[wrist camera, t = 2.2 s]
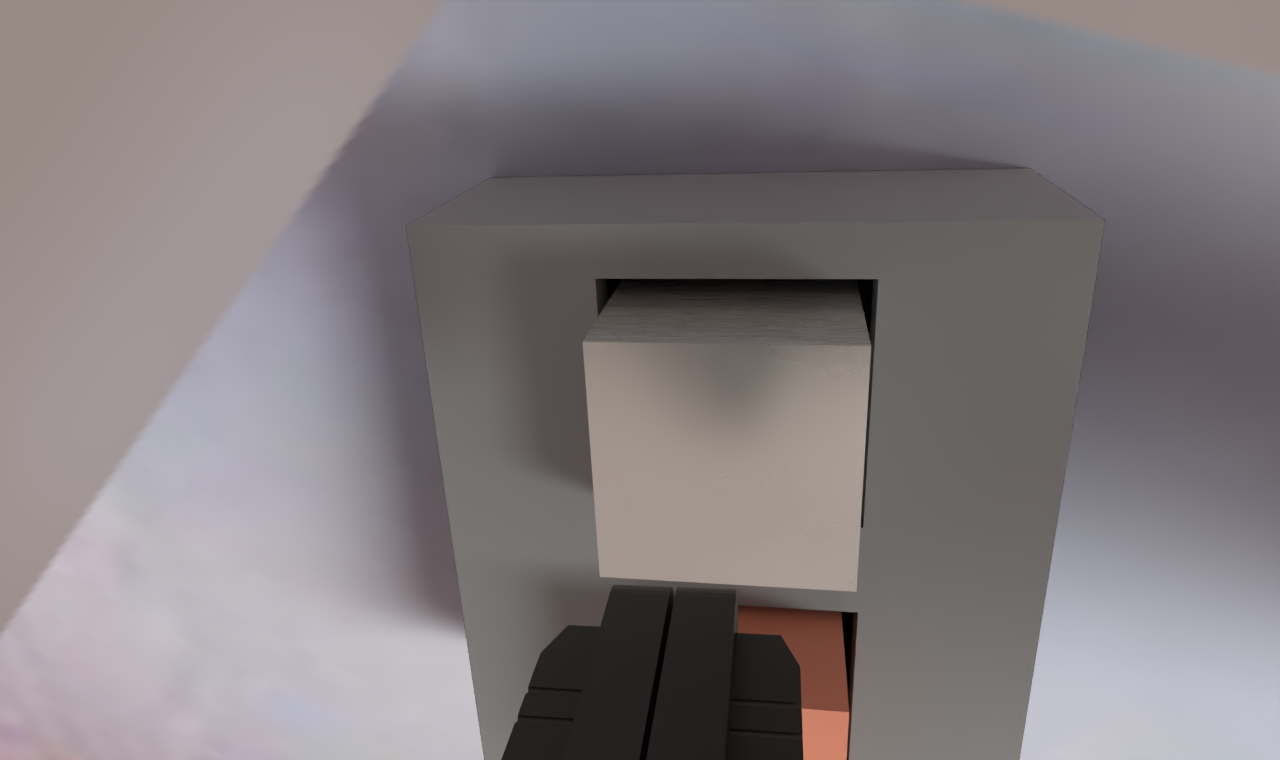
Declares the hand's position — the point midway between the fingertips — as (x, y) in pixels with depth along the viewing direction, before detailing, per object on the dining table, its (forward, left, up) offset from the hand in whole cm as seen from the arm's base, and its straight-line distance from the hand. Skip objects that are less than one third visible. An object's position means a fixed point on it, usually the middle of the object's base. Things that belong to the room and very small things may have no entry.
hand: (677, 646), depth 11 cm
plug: (0, 0, -9) cm, 9 cm away
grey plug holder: (0, +3, -12) cm, 12 cm away
